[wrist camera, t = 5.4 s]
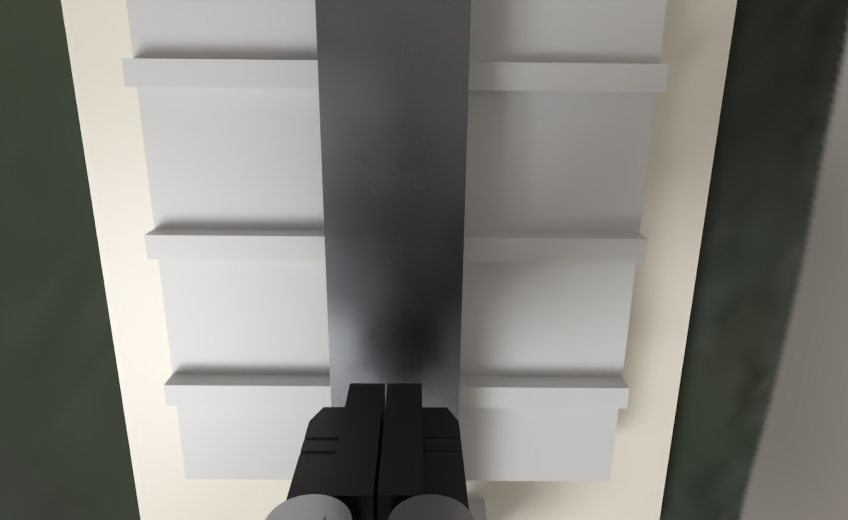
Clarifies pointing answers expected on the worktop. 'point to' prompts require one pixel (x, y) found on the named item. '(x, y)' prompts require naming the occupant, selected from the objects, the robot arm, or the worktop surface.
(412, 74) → the strap
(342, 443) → the robot arm
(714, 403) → the worktop surface
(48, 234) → the worktop surface
